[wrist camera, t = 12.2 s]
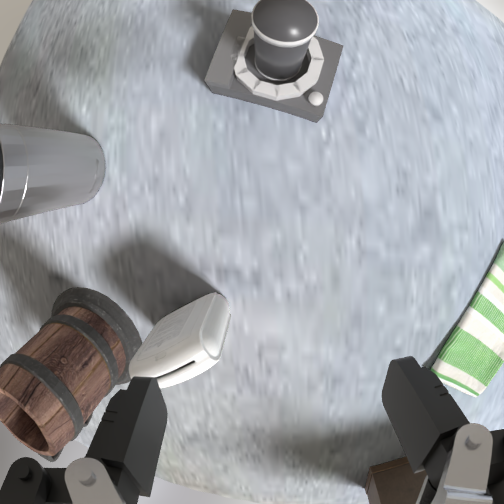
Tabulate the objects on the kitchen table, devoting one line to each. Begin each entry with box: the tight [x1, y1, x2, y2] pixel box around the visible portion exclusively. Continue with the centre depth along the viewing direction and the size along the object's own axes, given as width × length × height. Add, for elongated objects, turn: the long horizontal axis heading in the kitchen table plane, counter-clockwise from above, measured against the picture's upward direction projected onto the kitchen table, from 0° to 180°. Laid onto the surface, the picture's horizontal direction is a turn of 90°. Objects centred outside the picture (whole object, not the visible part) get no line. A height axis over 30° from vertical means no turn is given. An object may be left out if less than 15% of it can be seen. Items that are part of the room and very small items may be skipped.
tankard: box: [0, 287, 142, 462], centre depth 30 cm, size 24×17×20 cm
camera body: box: [205, 10, 343, 123], centre depth 27 cm, size 12×9×5 cm
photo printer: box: [129, 292, 231, 389], centre depth 31 cm, size 10×4×12 cm, turn 120°
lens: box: [252, 0, 319, 82], centre depth 21 cm, size 5×5×10 cm
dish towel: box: [431, 242, 504, 397], centre depth 35 cm, size 18×23×3 cm
